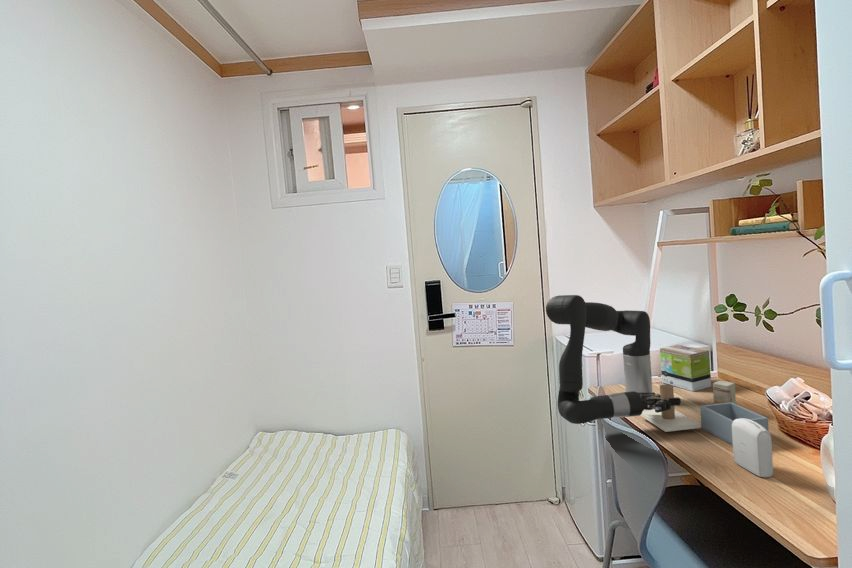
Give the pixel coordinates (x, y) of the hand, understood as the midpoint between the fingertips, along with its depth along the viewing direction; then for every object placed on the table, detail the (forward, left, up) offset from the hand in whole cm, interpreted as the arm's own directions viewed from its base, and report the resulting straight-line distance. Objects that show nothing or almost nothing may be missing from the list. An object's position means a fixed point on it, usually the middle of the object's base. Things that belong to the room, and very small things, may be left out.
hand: (675, 399), depth 156 cm
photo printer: (+33, 0, -8) cm, 34 cm away
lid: (0, -3, -7) cm, 7 cm away
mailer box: (+12, +10, -8) cm, 18 cm away
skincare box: (-5, +19, -8) cm, 22 cm away
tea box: (-37, +25, -8) cm, 46 cm away
